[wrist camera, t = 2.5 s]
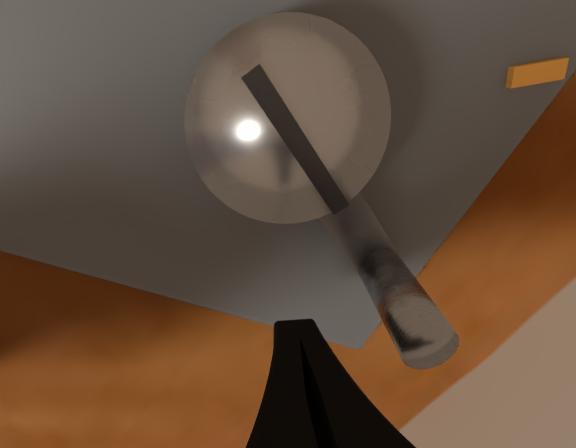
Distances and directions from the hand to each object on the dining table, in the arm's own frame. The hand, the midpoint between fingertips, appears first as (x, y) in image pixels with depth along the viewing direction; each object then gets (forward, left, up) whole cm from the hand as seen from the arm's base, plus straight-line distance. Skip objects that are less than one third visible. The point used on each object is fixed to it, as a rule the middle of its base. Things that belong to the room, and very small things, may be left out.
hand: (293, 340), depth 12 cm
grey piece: (-1, +5, -3) cm, 6 cm away
